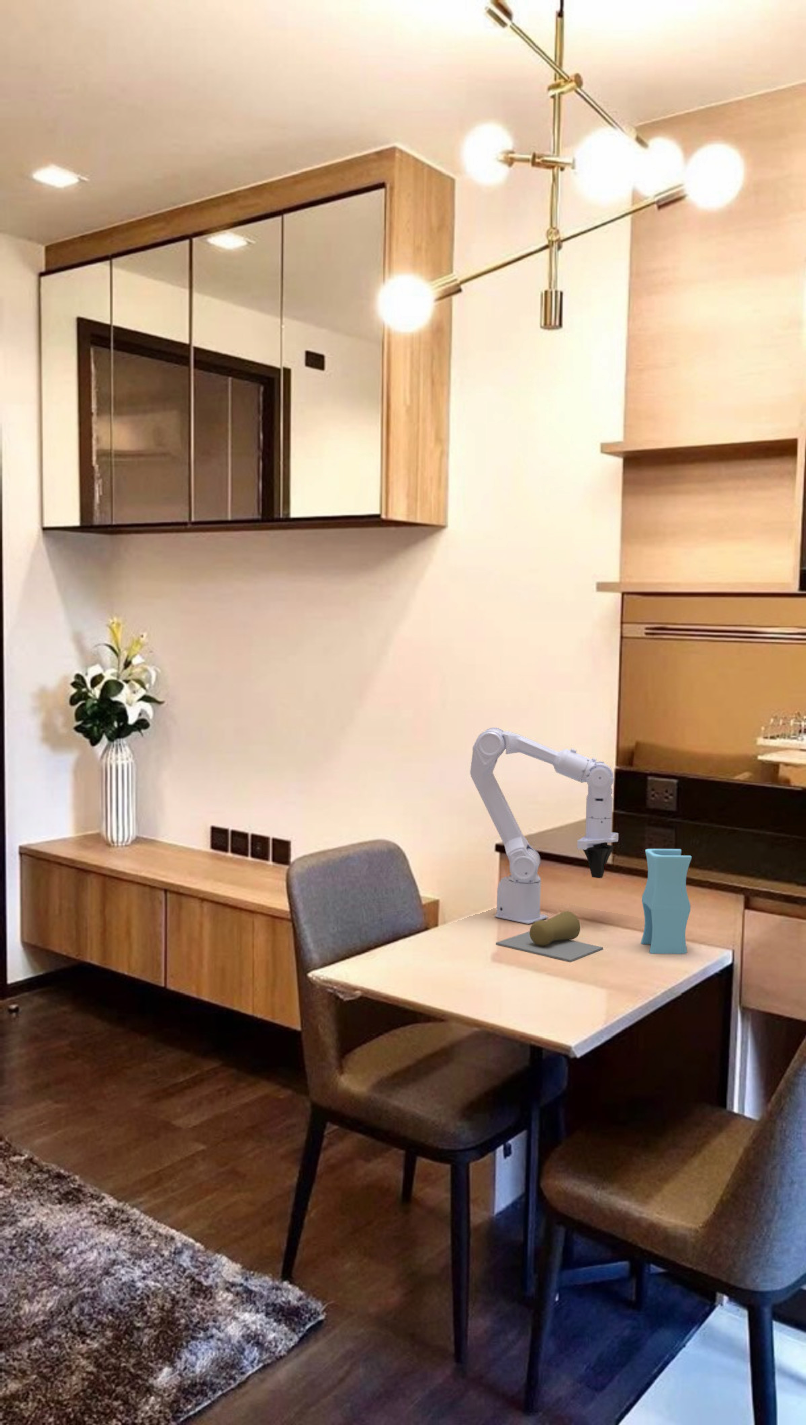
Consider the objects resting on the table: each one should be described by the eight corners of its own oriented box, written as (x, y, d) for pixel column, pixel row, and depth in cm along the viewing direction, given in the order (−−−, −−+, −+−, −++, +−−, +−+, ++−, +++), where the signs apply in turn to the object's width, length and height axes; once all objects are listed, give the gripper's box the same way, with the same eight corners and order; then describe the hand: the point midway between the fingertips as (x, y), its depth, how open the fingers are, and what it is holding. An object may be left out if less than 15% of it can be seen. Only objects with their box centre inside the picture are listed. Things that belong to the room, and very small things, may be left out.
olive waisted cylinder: (552, 927, 233) (520, 937, 225) (564, 905, 231) (532, 913, 223) (573, 945, 229) (541, 955, 222) (584, 922, 227) (552, 932, 219)
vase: (688, 953, 221) (692, 856, 220) (650, 953, 221) (653, 856, 219) (677, 943, 229) (680, 849, 227) (640, 943, 228) (643, 848, 227)
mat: (495, 944, 225) (495, 942, 225) (529, 933, 235) (529, 931, 235) (570, 962, 214) (570, 960, 214) (602, 949, 223) (603, 947, 223)
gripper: (597, 822, 235) (596, 885, 235) (630, 815, 246) (629, 875, 246) (569, 819, 239) (568, 880, 240) (603, 812, 250) (601, 870, 251)
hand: (597, 877), depth 244 cm, fingers closed
